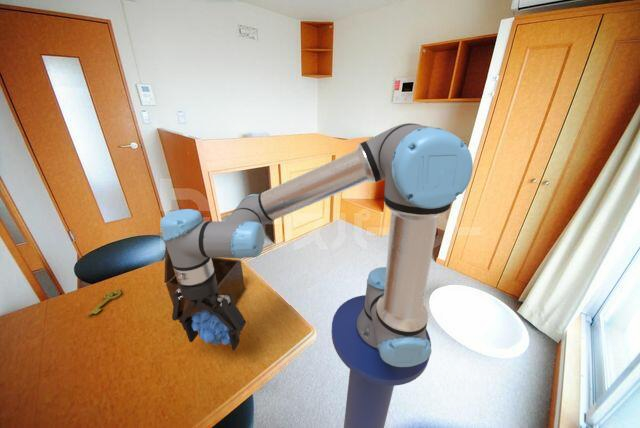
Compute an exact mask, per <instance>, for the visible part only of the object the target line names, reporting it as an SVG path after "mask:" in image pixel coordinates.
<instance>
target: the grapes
mask: <svg viewBox="0 0 640 428" xmlns="http://www.w3.org/2000/svg"><path fill="white" fill-rule="evenodd" d="M192 320H193V322H192V324H191V325H192V328H193V330H194V331H198V333H199V334H198V337H199V338H200V339H201V340H203V342H204V343H208V344H209V343H210V344H212V345H213V346H216V345H219V344H222V345H223V346H228V345H231V342H230V338H229V334H228V331H229V330H230V329H228V328H227V327H226V326H225V325H224V324H223V323H222V322H221V321H220V320H219V319H218V318H217V317H216V316H215V315H214V314H213V315H212V314H210V313H209V312H208V311H207V310H204V309H203V310H201V312H195V313H193V315H192Z"/></svg>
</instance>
